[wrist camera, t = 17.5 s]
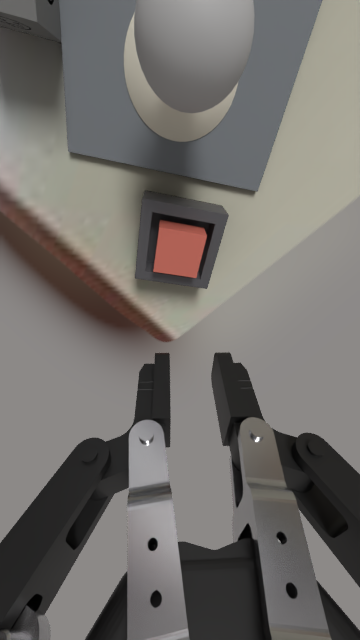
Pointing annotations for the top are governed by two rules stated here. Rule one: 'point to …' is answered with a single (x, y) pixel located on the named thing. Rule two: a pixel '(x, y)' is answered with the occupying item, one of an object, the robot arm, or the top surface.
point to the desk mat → (160, 119)
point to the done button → (179, 248)
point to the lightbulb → (193, 49)
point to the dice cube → (32, 17)
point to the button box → (185, 213)
